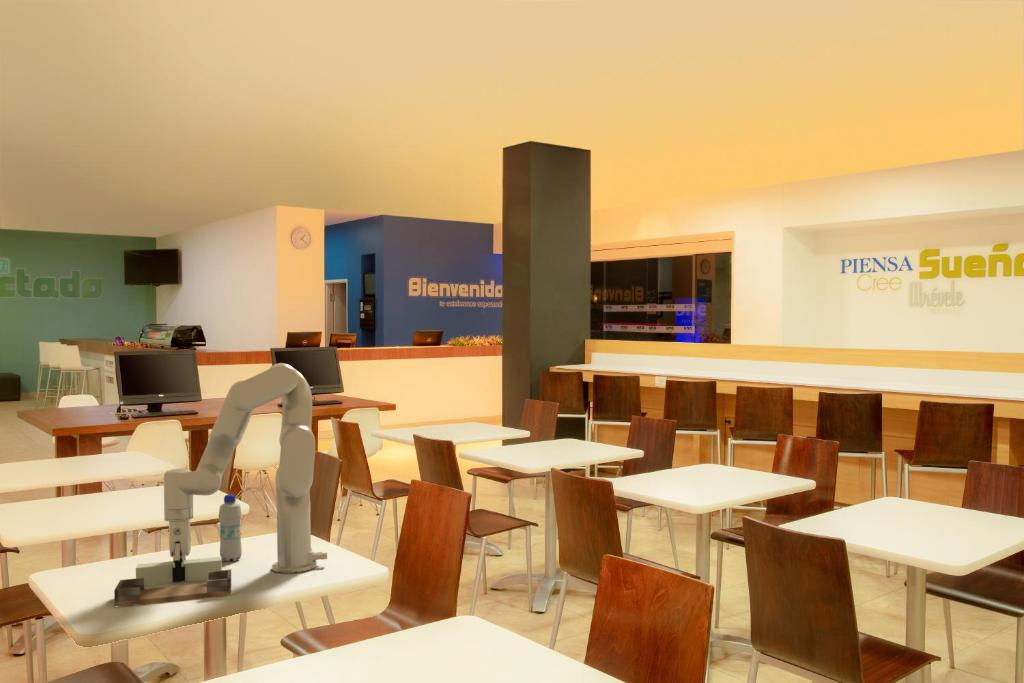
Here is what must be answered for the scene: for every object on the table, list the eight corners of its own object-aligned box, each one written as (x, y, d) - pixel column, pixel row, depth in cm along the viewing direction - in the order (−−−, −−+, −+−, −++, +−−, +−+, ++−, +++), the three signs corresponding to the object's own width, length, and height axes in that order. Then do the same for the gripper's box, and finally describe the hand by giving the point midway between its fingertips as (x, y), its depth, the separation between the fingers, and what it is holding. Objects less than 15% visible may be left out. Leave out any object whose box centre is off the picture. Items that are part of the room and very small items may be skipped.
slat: (221, 574, 234) (221, 556, 234) (221, 578, 230) (221, 560, 230) (138, 582, 227) (137, 564, 227) (136, 586, 223) (135, 568, 223)
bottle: (238, 562, 245) (236, 496, 245) (215, 563, 245) (214, 496, 245) (245, 556, 252) (244, 492, 252) (224, 557, 252) (222, 492, 252)
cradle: (231, 584, 223) (231, 569, 223) (230, 595, 214) (230, 579, 214) (120, 595, 214) (120, 579, 214) (114, 607, 205) (114, 590, 205)
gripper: (190, 518, 221) (191, 586, 221) (195, 507, 237) (196, 569, 237) (161, 520, 219) (161, 589, 219) (167, 509, 235) (168, 572, 235)
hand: (179, 578), depth 228 cm, fingers closed on slat, 4 cm apart
